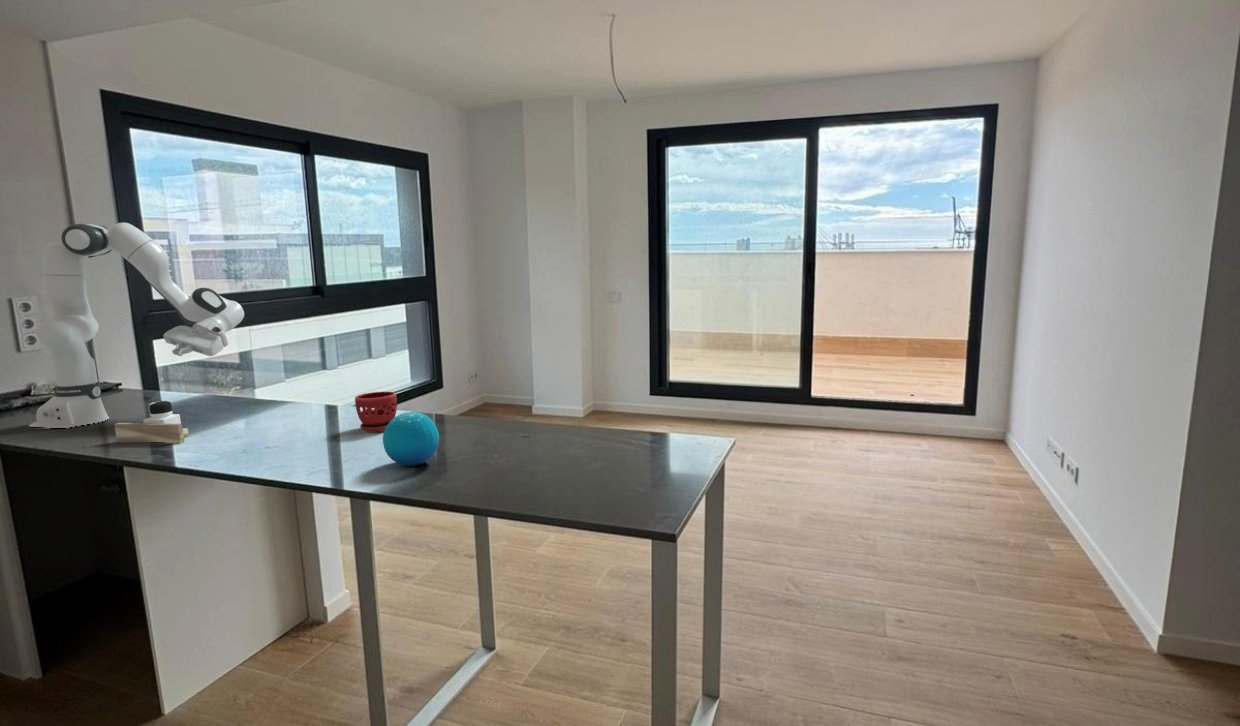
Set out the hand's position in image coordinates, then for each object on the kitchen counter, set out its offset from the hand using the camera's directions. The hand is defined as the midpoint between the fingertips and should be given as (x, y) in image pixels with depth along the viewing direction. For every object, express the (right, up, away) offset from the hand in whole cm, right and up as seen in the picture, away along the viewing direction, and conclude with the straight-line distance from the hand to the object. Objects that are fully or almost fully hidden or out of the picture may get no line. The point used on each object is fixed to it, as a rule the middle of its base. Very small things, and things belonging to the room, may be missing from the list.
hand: (175, 353), depth 224 cm
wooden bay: (+6, -28, -16) cm, 33 cm away
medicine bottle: (+7, -28, -15) cm, 32 cm away
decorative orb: (+98, -32, -45) cm, 112 cm away
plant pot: (+74, -26, -7) cm, 79 cm away
